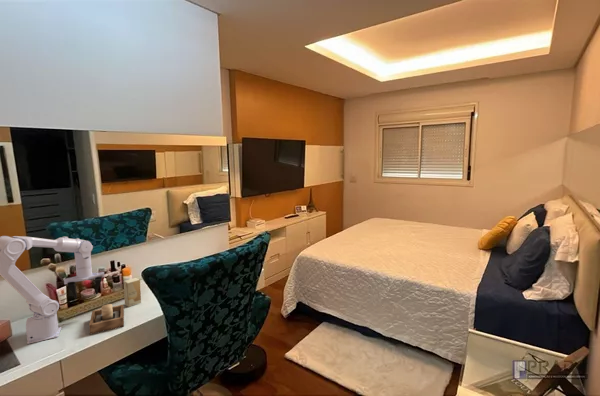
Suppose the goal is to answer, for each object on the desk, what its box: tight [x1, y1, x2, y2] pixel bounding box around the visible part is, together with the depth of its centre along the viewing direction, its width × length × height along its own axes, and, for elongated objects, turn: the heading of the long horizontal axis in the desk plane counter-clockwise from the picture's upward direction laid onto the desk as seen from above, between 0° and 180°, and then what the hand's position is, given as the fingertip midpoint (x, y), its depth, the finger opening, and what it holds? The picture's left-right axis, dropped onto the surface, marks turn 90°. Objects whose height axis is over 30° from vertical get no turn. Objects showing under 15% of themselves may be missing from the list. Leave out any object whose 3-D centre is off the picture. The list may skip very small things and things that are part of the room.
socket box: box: [88, 304, 125, 335], centre depth 133 cm, size 12×14×4 cm
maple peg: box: [100, 303, 113, 321], centre depth 132 cm, size 4×4×7 cm
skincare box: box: [123, 277, 142, 308], centre depth 150 cm, size 6×4×12 cm
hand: (86, 295), depth 136 cm, fingers open, 7 cm apart
